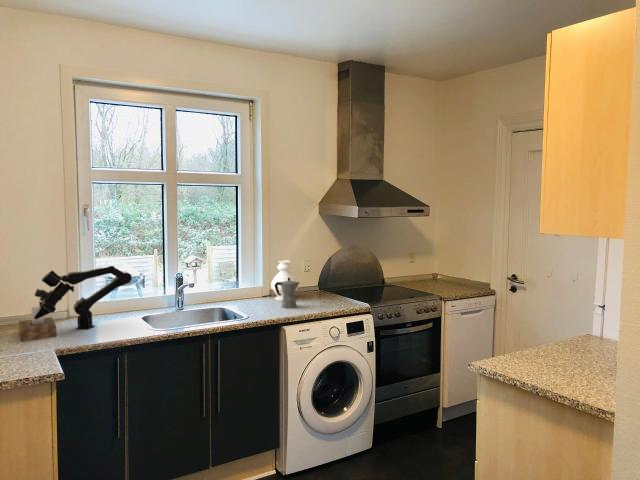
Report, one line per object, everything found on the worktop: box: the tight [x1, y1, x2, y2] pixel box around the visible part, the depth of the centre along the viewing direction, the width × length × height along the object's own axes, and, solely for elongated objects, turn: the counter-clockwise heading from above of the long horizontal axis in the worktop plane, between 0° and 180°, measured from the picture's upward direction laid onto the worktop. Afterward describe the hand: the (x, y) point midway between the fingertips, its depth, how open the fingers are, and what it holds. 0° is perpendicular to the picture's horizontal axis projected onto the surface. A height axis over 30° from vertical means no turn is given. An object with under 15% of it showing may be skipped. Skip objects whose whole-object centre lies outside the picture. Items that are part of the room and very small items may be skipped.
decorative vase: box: [270, 259, 299, 301], centre depth 330 cm, size 18×18×25 cm
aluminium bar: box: [30, 305, 45, 325], centre depth 247 cm, size 5×5×10 cm
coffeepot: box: [275, 278, 300, 309], centre depth 305 cm, size 15×9×18 cm, turn 103°
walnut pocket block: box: [17, 316, 57, 342], centre depth 247 cm, size 15×20×6 cm
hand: (34, 317), depth 246 cm, fingers closed on aluminium bar, 5 cm apart
